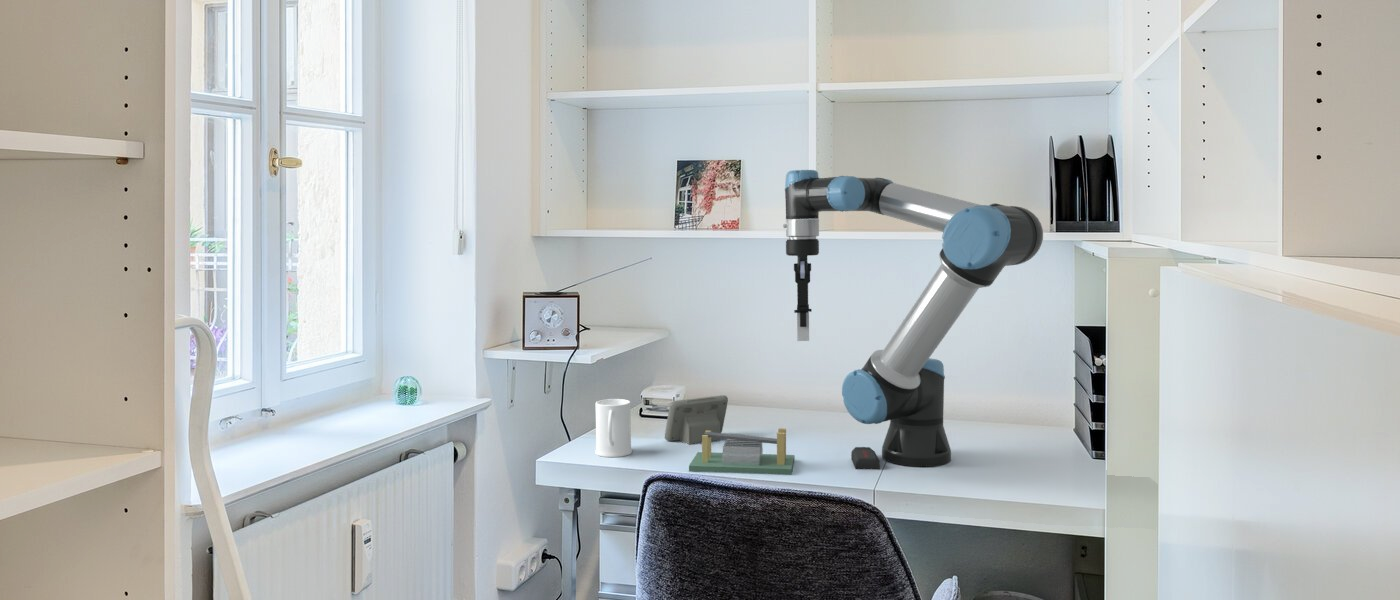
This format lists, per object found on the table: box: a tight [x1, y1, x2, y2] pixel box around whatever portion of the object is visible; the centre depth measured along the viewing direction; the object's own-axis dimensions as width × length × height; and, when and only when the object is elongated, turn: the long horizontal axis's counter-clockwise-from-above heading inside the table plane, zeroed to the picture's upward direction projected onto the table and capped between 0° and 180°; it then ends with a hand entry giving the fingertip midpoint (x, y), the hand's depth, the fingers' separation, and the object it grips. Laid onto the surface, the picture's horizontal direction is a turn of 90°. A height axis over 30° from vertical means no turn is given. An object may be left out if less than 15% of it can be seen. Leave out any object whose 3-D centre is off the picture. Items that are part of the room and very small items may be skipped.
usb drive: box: [850, 446, 881, 471], centre depth 210 cm, size 5×12×3 cm, turn 177°
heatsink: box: [722, 439, 764, 466], centre depth 207 cm, size 8×8×4 cm
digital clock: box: [664, 394, 729, 445], centre depth 232 cm, size 16×9×11 cm, turn 107°
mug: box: [594, 398, 633, 458], centre depth 218 cm, size 12×8×12 cm
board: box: [688, 427, 796, 476], centre depth 207 cm, size 22×12×8 cm, turn 81°
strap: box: [704, 432, 777, 445], centre depth 207 cm, size 18×3×1 cm, turn 81°
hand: (803, 340), depth 218 cm, fingers closed
